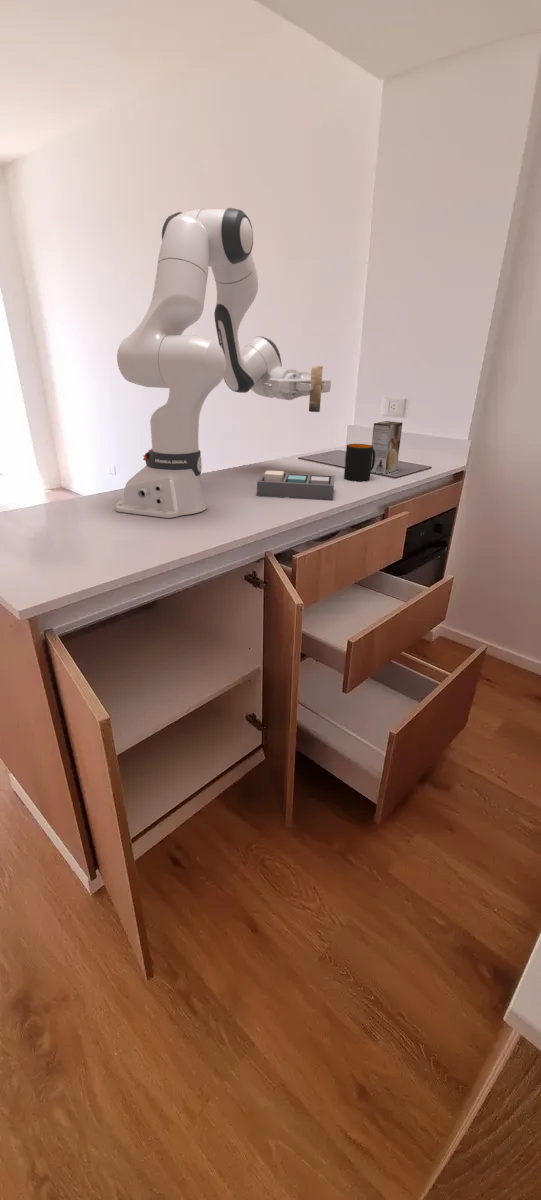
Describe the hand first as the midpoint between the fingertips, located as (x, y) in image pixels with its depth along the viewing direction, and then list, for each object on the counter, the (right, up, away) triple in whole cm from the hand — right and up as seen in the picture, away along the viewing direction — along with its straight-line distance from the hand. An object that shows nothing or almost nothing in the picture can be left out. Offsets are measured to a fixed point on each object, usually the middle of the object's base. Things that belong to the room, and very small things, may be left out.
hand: (317, 387), depth 148 cm
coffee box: (+25, -16, +31) cm, 43 cm away
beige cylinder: (-1, -6, +4) cm, 7 cm away
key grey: (0, -29, 0) cm, 29 cm away
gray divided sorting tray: (-6, -30, +1) cm, 30 cm away
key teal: (-6, -29, 0) cm, 29 cm away
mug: (+16, -21, +21) cm, 34 cm away
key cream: (-12, -27, 0) cm, 30 cm away
